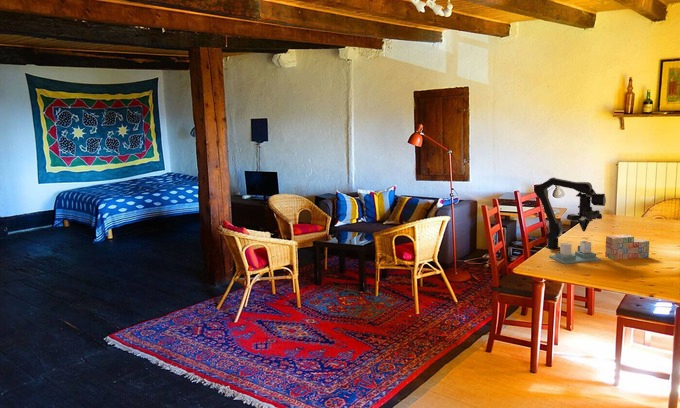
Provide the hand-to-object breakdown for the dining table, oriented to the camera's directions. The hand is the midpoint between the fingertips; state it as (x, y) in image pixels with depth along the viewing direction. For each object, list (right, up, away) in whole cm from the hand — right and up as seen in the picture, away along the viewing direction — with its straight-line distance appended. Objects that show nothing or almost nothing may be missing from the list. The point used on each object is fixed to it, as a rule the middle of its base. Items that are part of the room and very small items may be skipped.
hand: (583, 231), depth 308 cm
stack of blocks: (+18, -14, -12) cm, 26 cm away
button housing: (+1, -12, +2) cm, 12 cm away
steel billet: (-4, -13, -11) cm, 18 cm away
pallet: (-11, -15, -12) cm, 22 cm away
